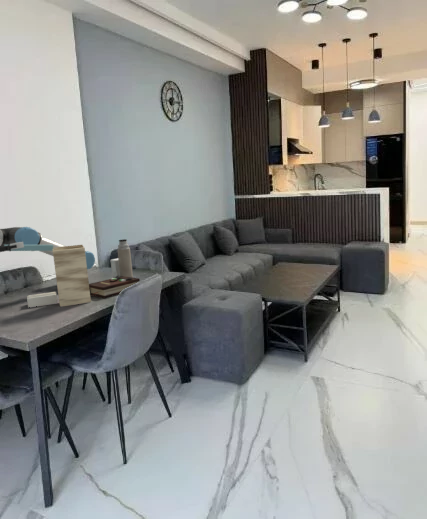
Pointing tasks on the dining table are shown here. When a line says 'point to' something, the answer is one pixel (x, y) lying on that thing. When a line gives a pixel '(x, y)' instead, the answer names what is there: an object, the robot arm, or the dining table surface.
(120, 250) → the thermos bottle
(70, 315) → the dining table surface
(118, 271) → the skincare box
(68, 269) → the pedestal
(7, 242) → the robot arm
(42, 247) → the bar
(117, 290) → the decorative book
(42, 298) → the dock
